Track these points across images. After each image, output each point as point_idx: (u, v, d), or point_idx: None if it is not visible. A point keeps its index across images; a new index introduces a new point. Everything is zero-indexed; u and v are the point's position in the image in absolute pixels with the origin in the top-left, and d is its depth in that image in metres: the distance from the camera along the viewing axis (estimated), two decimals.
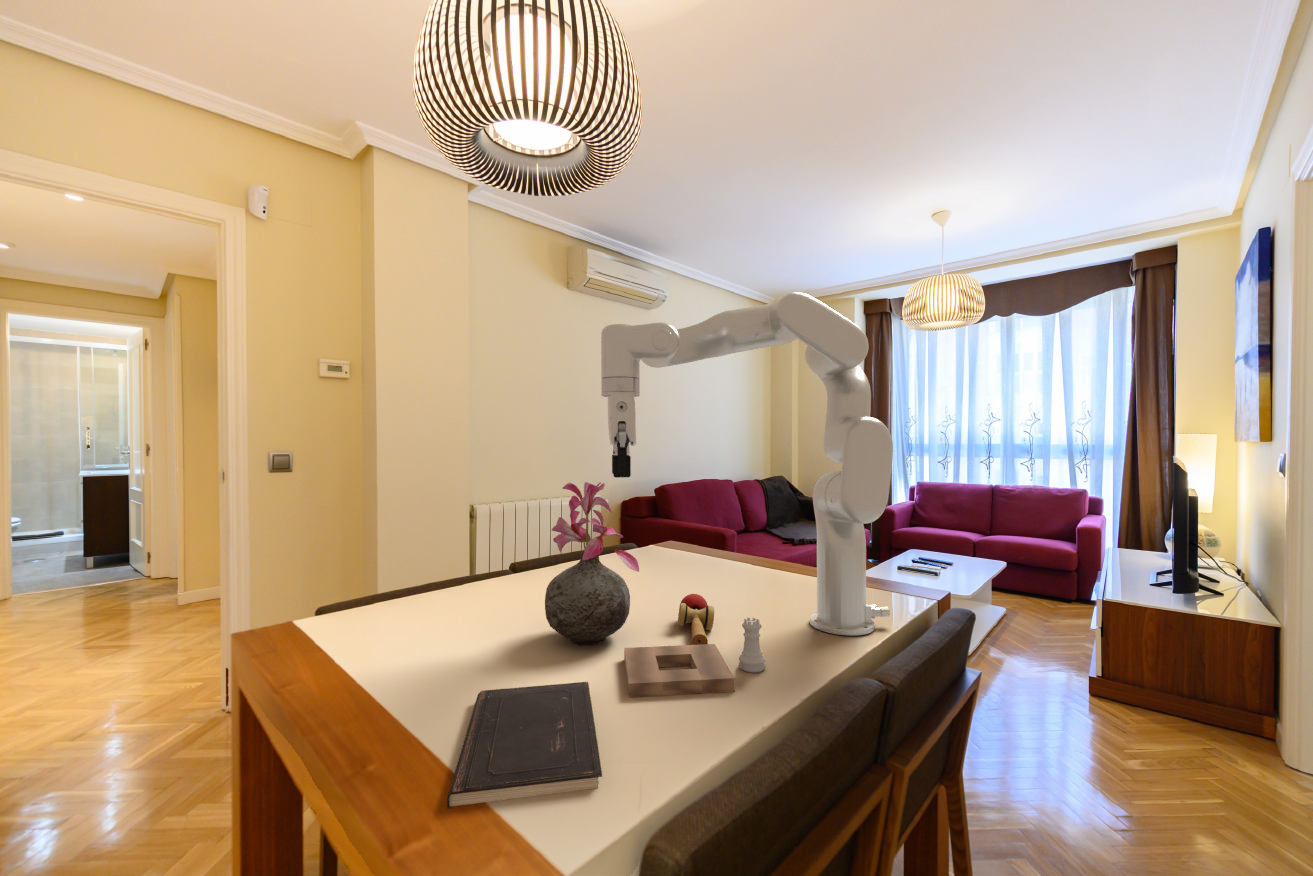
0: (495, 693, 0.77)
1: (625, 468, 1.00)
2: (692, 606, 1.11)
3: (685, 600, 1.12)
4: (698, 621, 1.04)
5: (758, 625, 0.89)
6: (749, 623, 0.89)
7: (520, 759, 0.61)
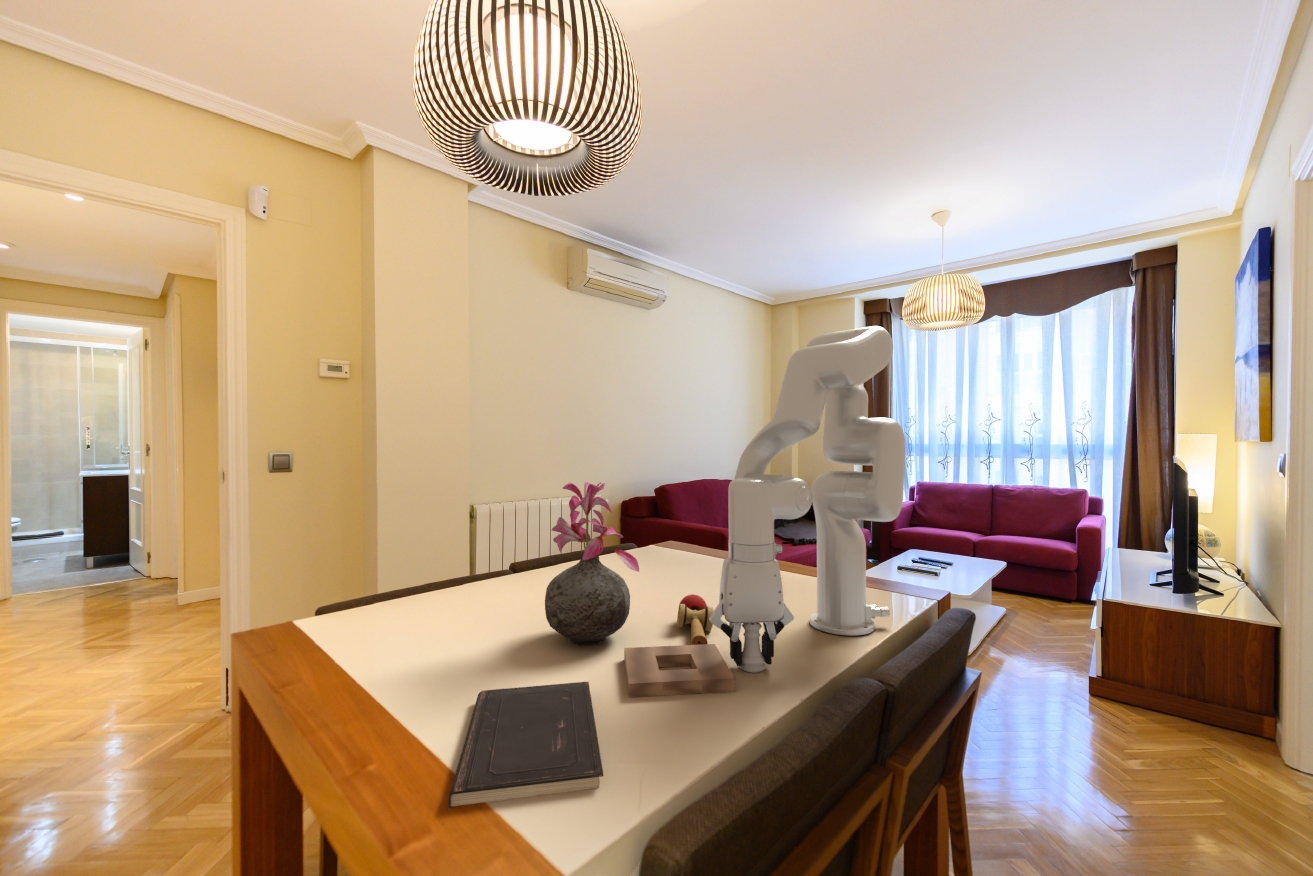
0: (496, 693, 0.77)
1: None
2: (691, 607, 1.10)
3: (684, 601, 1.11)
4: (697, 622, 1.04)
5: (758, 625, 0.89)
6: (749, 623, 0.89)
7: (521, 759, 0.61)
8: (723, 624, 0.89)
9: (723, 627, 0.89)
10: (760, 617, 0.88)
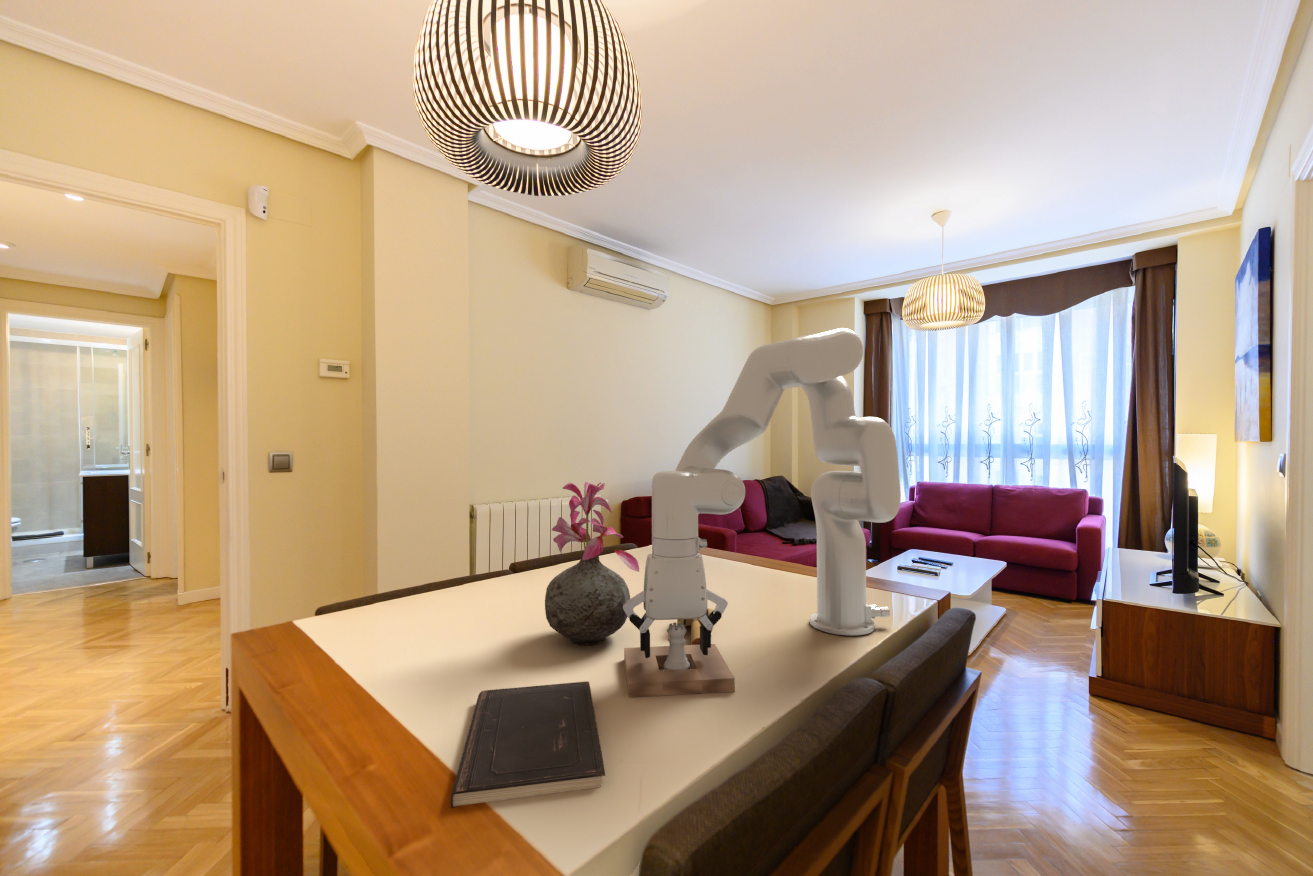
0: (496, 693, 0.77)
1: None
2: None
3: None
4: (697, 624, 1.02)
5: (682, 630, 0.87)
6: (673, 628, 0.87)
7: (523, 759, 0.61)
8: (633, 614, 0.86)
9: (631, 618, 0.86)
10: (682, 613, 0.86)
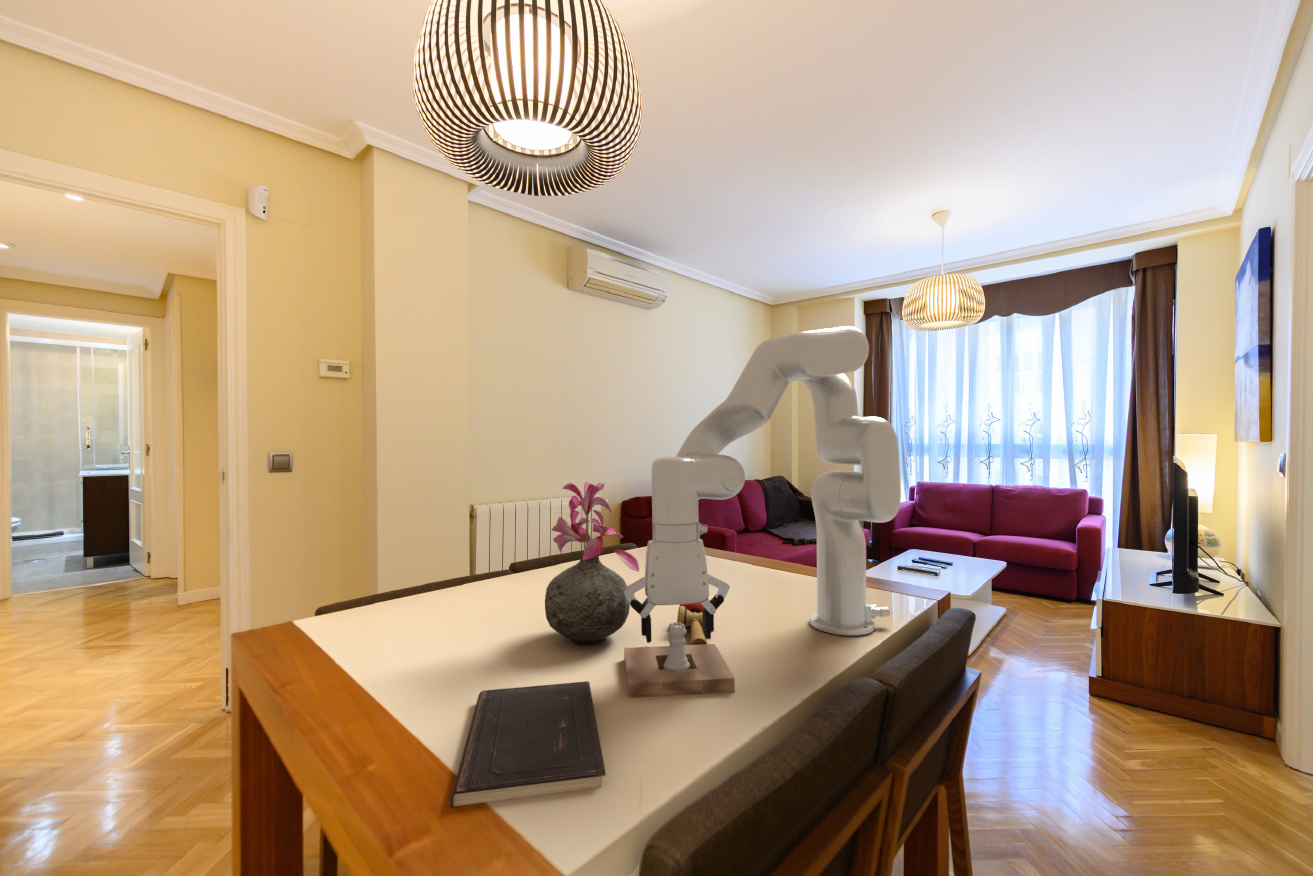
0: (496, 693, 0.77)
1: None
2: (691, 609, 1.09)
3: None
4: (697, 624, 1.02)
5: (682, 630, 0.87)
6: (673, 628, 0.87)
7: (523, 759, 0.61)
8: (634, 600, 0.86)
9: (632, 603, 0.86)
10: (684, 599, 0.86)
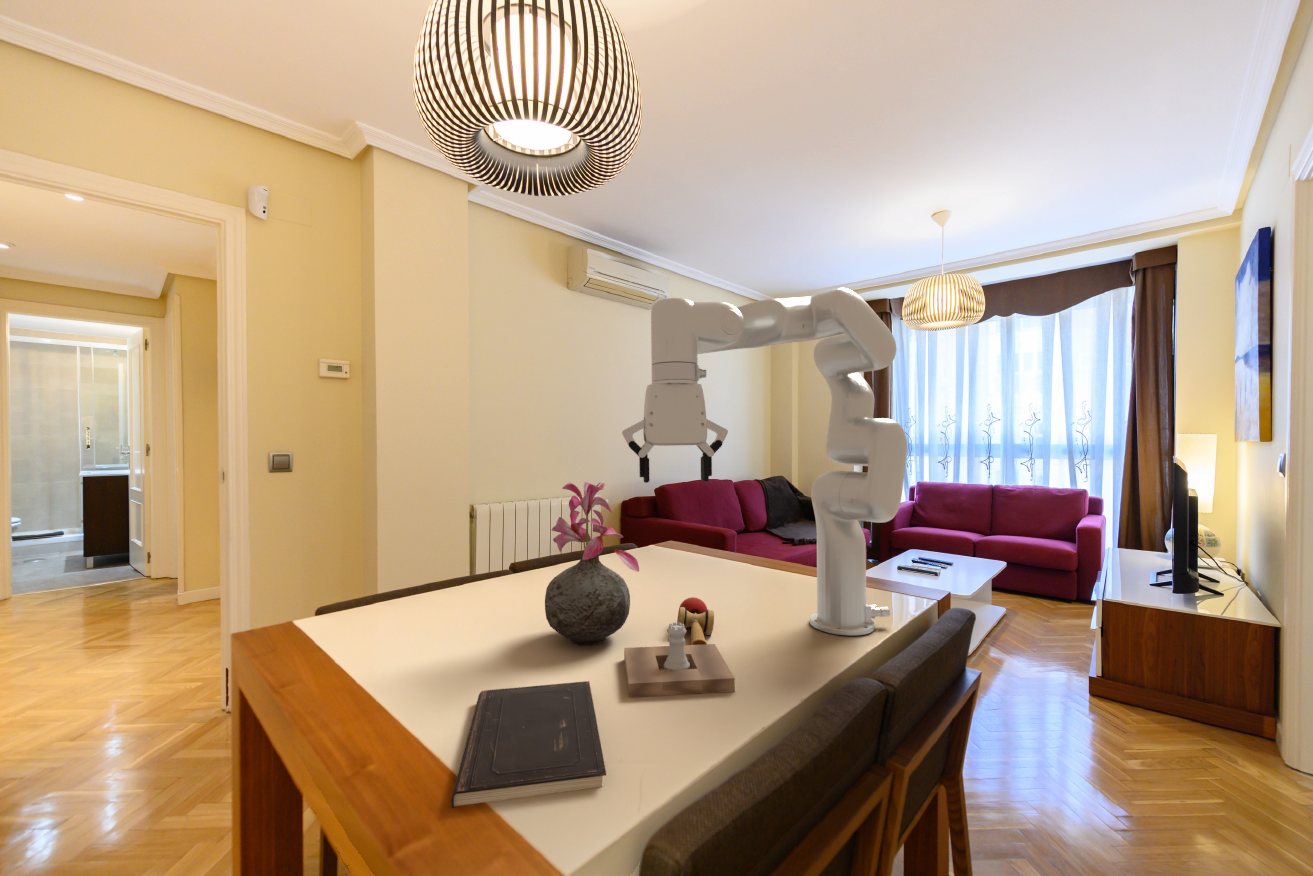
0: (497, 693, 0.77)
1: None
2: (692, 610, 1.08)
3: (684, 604, 1.10)
4: (697, 625, 1.02)
5: (682, 630, 0.87)
6: (673, 628, 0.87)
7: (524, 759, 0.61)
8: (632, 440, 0.87)
9: (630, 443, 0.86)
10: (682, 438, 0.86)
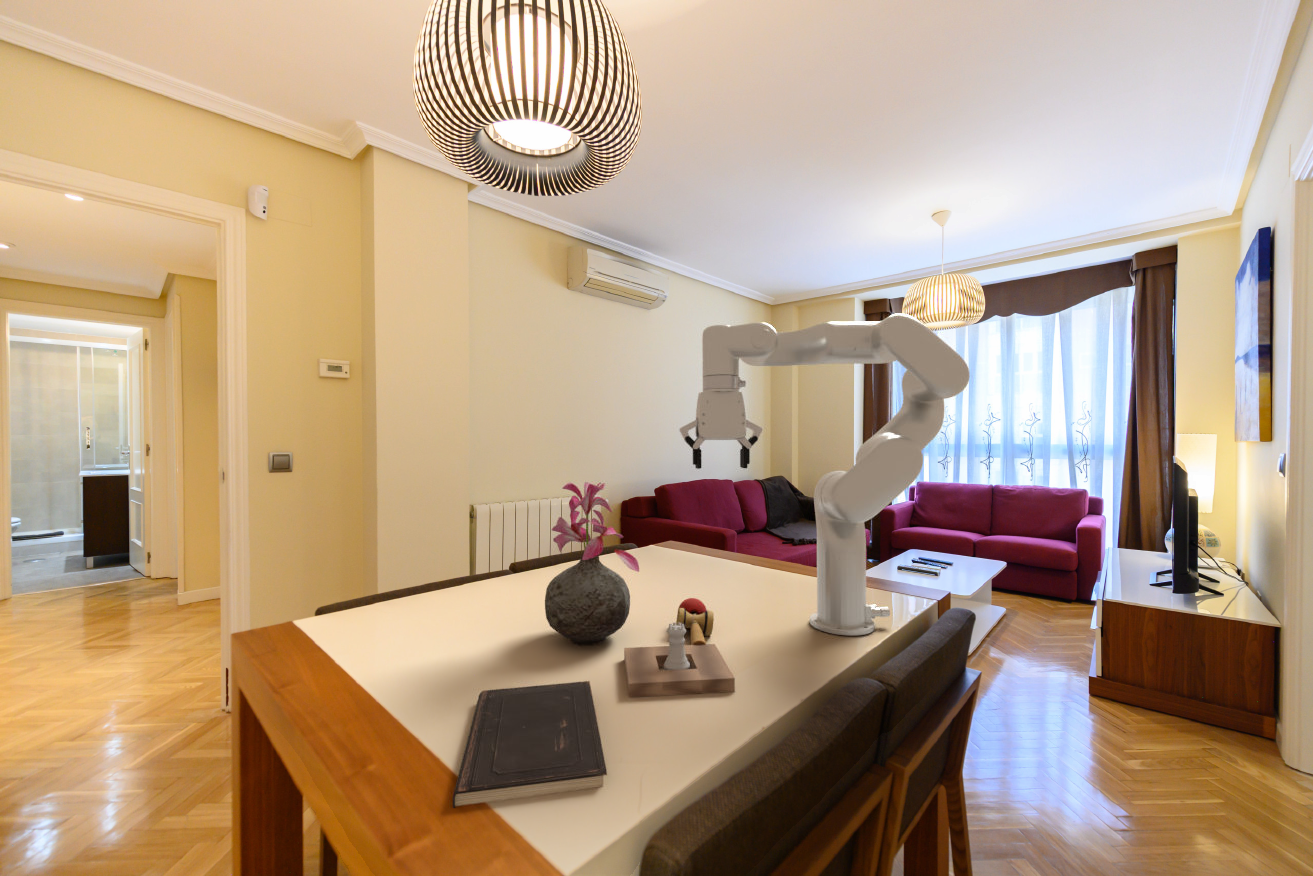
0: (497, 693, 0.77)
1: None
2: (691, 611, 1.08)
3: (683, 604, 1.09)
4: (697, 626, 1.01)
5: (682, 630, 0.87)
6: (673, 628, 0.87)
7: (524, 759, 0.61)
8: (688, 436, 1.11)
9: (686, 438, 1.10)
10: (727, 434, 1.10)
